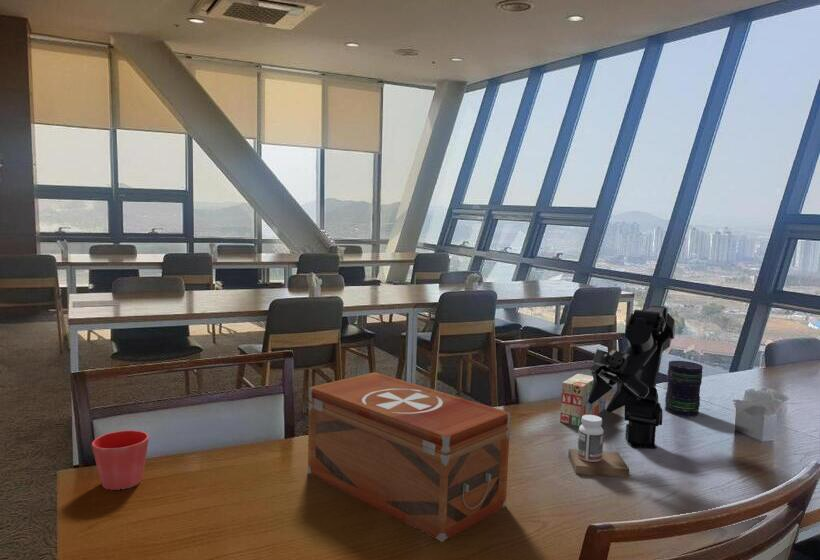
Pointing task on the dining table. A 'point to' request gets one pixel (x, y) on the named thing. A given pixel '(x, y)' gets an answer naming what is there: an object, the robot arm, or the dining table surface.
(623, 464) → the wooden board
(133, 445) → the flower pot
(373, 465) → the wooden box
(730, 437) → the dining table surface
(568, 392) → the stack of blocks
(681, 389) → the storage jar
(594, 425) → the pill bottle
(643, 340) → the robot arm
